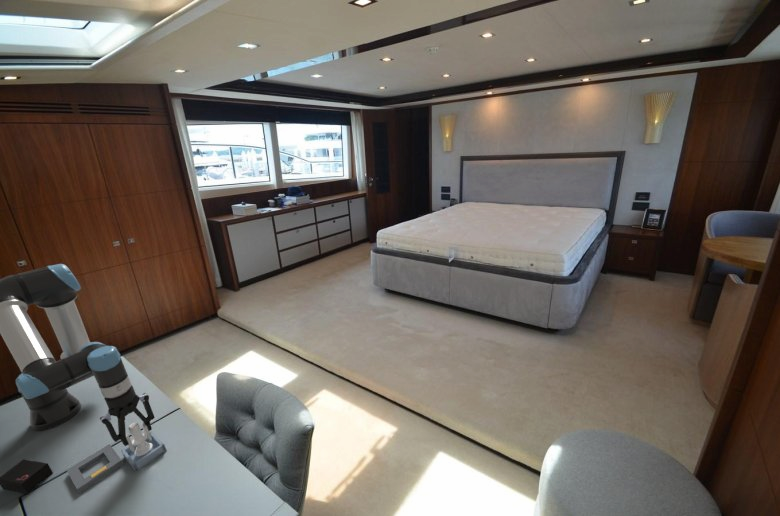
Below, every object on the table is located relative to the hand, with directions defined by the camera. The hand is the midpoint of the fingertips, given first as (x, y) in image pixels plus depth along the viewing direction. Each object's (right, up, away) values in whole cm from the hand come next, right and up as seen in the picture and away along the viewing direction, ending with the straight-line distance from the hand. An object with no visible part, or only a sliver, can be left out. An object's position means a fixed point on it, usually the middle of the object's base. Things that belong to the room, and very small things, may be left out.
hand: (141, 443), depth 118 cm
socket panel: (-13, -7, -3) cm, 15 cm away
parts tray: (0, -4, +2) cm, 5 cm away
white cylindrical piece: (0, -3, +1) cm, 3 cm away
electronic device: (-33, -10, -5) cm, 35 cm away
